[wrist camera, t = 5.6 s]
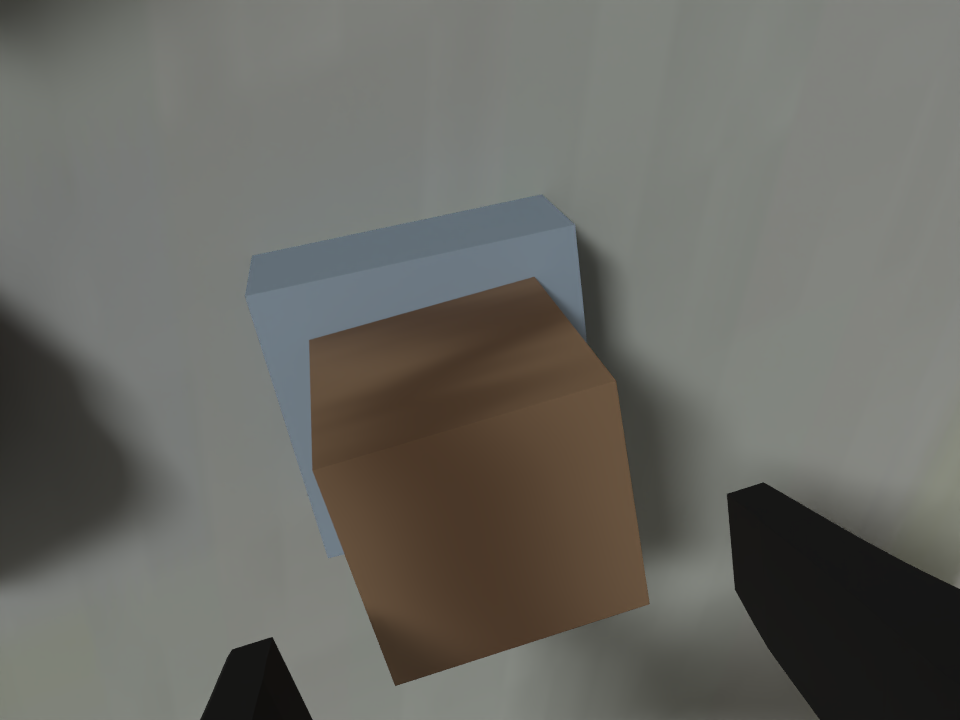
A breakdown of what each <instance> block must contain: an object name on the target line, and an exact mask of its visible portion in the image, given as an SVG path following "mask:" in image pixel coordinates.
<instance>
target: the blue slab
mask: <svg viewBox="0 0 960 720" xmlns="http://www.w3.org/2000/svg"><path fill="white" fill-rule="evenodd" d="M531 277H535V278H536V279H537V281H538V282H539V283H540V284H541V286H542V287H543V288H544V289H545V291H546V292H547V293H548V295H549V296H550V297H551V298H552V300H553V301H554V302H555V304H556V305H557V306H558V307H559V309H560V310H561V311H562V312H563V314H564V315H565V316H566V318H567V319H568V320H569V321H570V323H571V324H572V325H573V326H574V328H575V329H576V330H577V332H578V333H579V334H580V335H581V337H582V338H583V339H584V341H585V342H586V343H587V338H586V328H585V318H584V308H583V299H582V289H581V279H580V269H579V259H578V249H577V239H576V229H575V224H574V223H573V222H571V221H570V220H569V219H568V218H567V217H566V216H565V215H564V214H563V213H562V212H561V211H559V210H558V209H557V208H556V207H555V206H554V205H553V204H552V203H551V202H550V201H548V200H547V199H546V198H545V197H544V196H543V195H537V196H532V197H528V198H523V199H518V200H513V201H509V202H504V203H499V204H495V205H490V206H485V207H480V208H476V209H471V210H466V211H461V212H457V213H452V214H447V215H443V216H438V217H433V218H428V219H424V220H419V221H414V222H409V223H405V224H400V225H395V226H391V227H386V228H381V229H376V230H372V231H367V232H362V233H357V234H353V235H348V236H343V237H339V238H334V239H329V240H324V241H320V242H315V243H310V244H305V245H301V246H296V247H291V248H287V249H282V250H277V251H272V252H268V253H263V254H258V255H253V256H252V260H251V265H250V271H249V277H248V283H247V288H246V294H245V297H246V301H247V304H248V307H249V310H250V313H251V316H252V320H253V323H254V326H255V329H256V332H257V335H258V338H259V342H260V345H261V348H262V351H263V354H264V357H265V361H266V364H267V367H268V370H269V373H270V376H271V379H272V383H273V386H274V389H275V392H276V395H277V398H278V402H279V405H280V408H281V411H282V414H283V417H284V420H285V424H286V427H287V430H288V433H289V436H290V439H291V443H292V446H293V449H294V452H295V455H296V458H297V461H298V465H299V468H300V471H301V474H302V477H303V480H304V484H305V487H306V490H307V493H308V496H309V499H310V502H311V506H312V509H313V512H314V515H315V518H316V521H317V525H318V528H319V531H320V534H321V537H322V540H323V543H324V547H325V550H326V553H327V556H328V558H331V557H335V556H339V555H343V554H344V552H343V549H342V546H341V544H340V541H339V539H338V536H337V533H336V531H335V528H334V526H333V523H332V520H331V518H330V515H329V513H328V510H327V507H326V505H325V502H324V500H323V497H322V494H321V492H320V489H319V487H318V484H317V481H316V479H315V476H314V474H313V471H312V438H311V398H310V358H309V340H311V339H314V338H318V337H322V336H325V335H329V334H332V333H336V332H339V331H343V330H346V329H350V328H354V327H357V326H361V325H364V324H368V323H371V322H375V321H378V320H382V319H386V318H389V317H393V316H396V315H400V314H403V313H407V312H410V311H414V310H418V309H421V308H425V307H428V306H432V305H435V304H439V303H443V302H446V301H450V300H453V299H457V298H460V297H464V296H467V295H471V294H475V293H478V292H482V291H485V290H489V289H492V288H496V287H499V286H503V285H507V284H510V283H514V282H517V281H521V280H524V279H528V278H531Z"/></svg>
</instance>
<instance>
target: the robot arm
mask: <svg viewBox="0 0 960 720" xmlns="http://www.w3.org/2000/svg"><path fill="white" fill-rule="evenodd" d="M727 500H728V512H729V524H730V536H731V548H732V559H733V571H734V583H735V591H736V592H737V594H738V596H739V598H740V600H741V601H742V603H743V605H744V607H745V609H746V610H747V612H748V614H749V616H750V618H751V620H752V621H753V623H754V625H755V627H756V628H757V630H758V632H759V633H760V635H761V637H762V639H763V640H764V642H765V644H766V645H767V647H768V649H769V650H770V652H771V653H772V654H773V656H774V657H775V659H776V660H777V661H778V663H779V664H780V665H781V667H782V668H783V670H784V671H785V672H786V674H787V675H788V677H789V678H790V679H791V681H792V682H793V683H794V685H795V686H796V688H797V689H798V690H799V692H800V693H801V694H802V696H803V697H804V698H805V700H806V701H807V703H808V704H809V705H810V707H811V708H812V709H813V711H814V712H815V713H816V715H817V716H818V717H819V719H820V720H960V589H958V588H956V587H954V586H952V585H950V584H948V583H946V582H944V581H942V580H940V579H938V578H936V577H933V576H931V575H929V574H927V573H925V572H923V571H921V570H919V569H917V568H915V567H913V566H911V565H909V564H907V563H905V562H903V561H901V560H900V559H898V558H896V557H894V556H892V555H890V554H888V553H887V552H885V551H883V550H881V549H879V548H877V547H875V546H874V545H872V544H870V543H868V542H866V541H864V540H863V539H861V538H859V537H857V536H855V535H854V534H852V533H850V532H848V531H847V530H845V529H843V528H841V527H840V526H838V525H836V524H834V523H833V522H831V521H829V520H827V519H826V518H824V517H822V516H820V515H819V514H817V513H815V512H814V511H812V510H810V509H808V508H807V507H805V506H803V505H802V504H800V503H798V502H797V501H795V500H793V499H791V498H790V497H788V496H786V495H784V494H783V493H781V492H779V491H778V490H776V489H774V488H772V487H771V486H769V485H767V484H765V483H760V484H757V485H754V486H751V487H748V488H744V489H741V490H738V491H735V492H732V493H729V494H727ZM200 720H312V718H311V715H310V713H309V711H308V709H307V707H306V705H305V703H304V701H303V699H302V697H301V695H300V693H299V691H298V689H297V687H296V685H295V683H294V680H293V678H292V676H291V674H290V672H289V670H288V668H287V666H286V664H285V662H284V660H283V658H282V656H281V654H280V652H279V650H278V648H277V646H276V643H275V641H274V639H273V637H271V638H267V639H264V640H261V641H258V642H255V643H252V644H248V645H245V646H242V647H239V648H236V649H232V651H231V652H230V654H229V656H228V657H227V659H226V662H225V664H224V666H223V669H222V671H221V673H220V676H219V678H218V680H217V683H216V685H215V687H214V690H213V692H212V694H211V697H210V699H209V701H208V703H207V706H206V708H205V710H204V713H203V715H202V717H201V719H200Z"/></svg>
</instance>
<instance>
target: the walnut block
mask: <svg viewBox="0 0 960 720" xmlns="http://www.w3.org/2000/svg"><path fill="white" fill-rule="evenodd" d="M309 358H310V398H311V438H312V471H313V474H314V476H315V479H316V481H317V484H318V487H319V489H320V492H321V494H322V497H323V500H324V502H325V505H326V507H327V510H328V513H329V515H330V518H331V520H332V523H333V526H334V528H335V531H336V533H337V536H338V539H339V541H340V544H341V546H342V549H343V552H344V554H345V557H346V559H347V562H348V564H349V567H350V570H351V572H352V575H353V577H354V580H355V583H356V585H357V588H358V590H359V593H360V596H361V598H362V601H363V603H364V606H365V609H366V611H367V614H368V616H369V619H370V622H371V624H372V627H373V629H374V632H375V635H376V637H377V640H378V642H379V645H380V648H381V650H382V653H383V655H384V658H385V661H386V663H387V666H388V668H389V671H390V673H391V676H392V679H393V681H394V684H395V686H397V685H400V684H403V683H406V682H409V681H412V680H415V679H418V678H421V677H425V676H428V675H431V674H434V673H437V672H440V671H443V670H446V669H449V668H453V667H456V666H459V665H462V664H465V663H468V662H471V661H474V660H477V659H480V658H484V657H487V656H490V655H493V654H496V653H499V652H502V651H505V650H508V649H511V648H515V647H518V646H521V645H524V644H527V643H530V642H533V641H536V640H539V639H543V638H546V637H549V636H552V635H555V634H558V633H561V632H564V631H567V630H570V629H574V628H577V627H580V626H583V625H586V624H589V623H592V622H595V621H598V620H602V619H605V618H608V617H611V616H614V615H617V614H620V613H623V612H626V611H629V610H633V609H636V608H639V607H642V606H645V605H648V604H649V597H648V590H647V584H646V577H645V570H644V564H643V557H642V550H641V544H640V537H639V530H638V524H637V517H636V510H635V504H634V497H633V490H632V484H631V477H630V470H629V464H628V457H627V450H626V444H625V437H624V431H623V424H622V417H621V411H620V404H619V397H618V391H617V384H616V380H615V379H614V378H613V376H612V375H611V374H610V372H609V371H608V370H607V369H606V367H605V366H604V365H603V363H602V362H601V361H600V360H599V358H598V357H597V356H596V355H595V353H594V352H593V351H592V349H591V348H590V347H589V346H588V344H587V343H586V342H585V341H584V339H583V338H582V337H581V335H580V334H579V333H578V332H577V330H576V329H575V328H574V326H573V325H572V324H571V323H570V321H569V320H568V319H567V318H566V316H565V315H564V314H563V312H562V311H561V310H560V309H559V307H558V306H557V305H556V304H555V302H554V301H553V300H552V298H551V297H550V296H549V295H548V293H547V292H546V291H545V289H544V288H543V287H542V286H541V284H540V283H539V282H538V281H537V279H536V278H535V277H531V278H528V279H524V280H521V281H517V282H514V283H510V284H507V285H503V286H499V287H496V288H492V289H489V290H485V291H482V292H478V293H475V294H471V295H467V296H464V297H460V298H457V299H453V300H450V301H446V302H443V303H439V304H435V305H432V306H428V307H425V308H421V309H418V310H414V311H410V312H407V313H403V314H400V315H396V316H393V317H389V318H386V319H382V320H378V321H375V322H371V323H368V324H364V325H361V326H357V327H354V328H350V329H346V330H343V331H339V332H336V333H332V334H329V335H325V336H322V337H318V338H314V339H311V340H309Z"/></svg>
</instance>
